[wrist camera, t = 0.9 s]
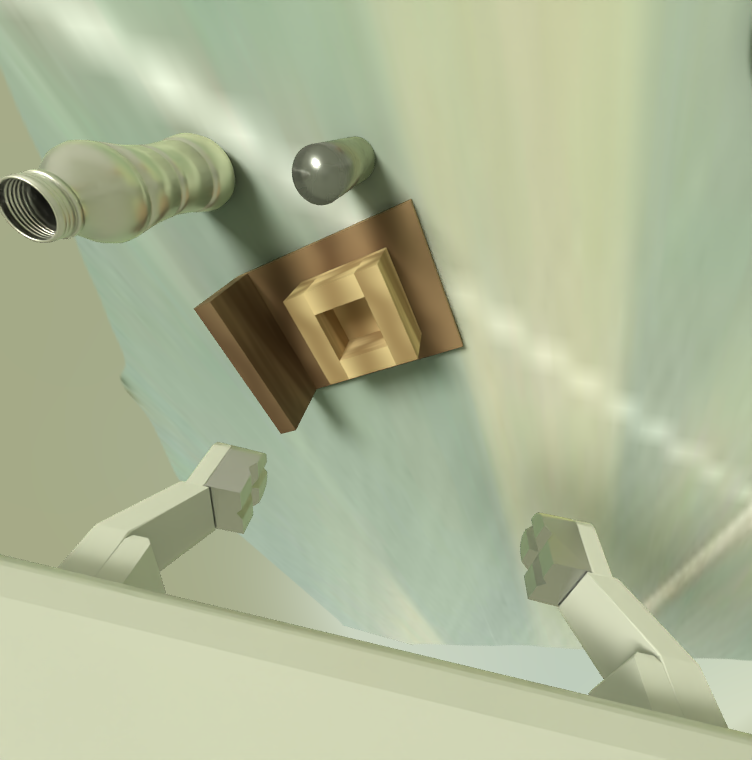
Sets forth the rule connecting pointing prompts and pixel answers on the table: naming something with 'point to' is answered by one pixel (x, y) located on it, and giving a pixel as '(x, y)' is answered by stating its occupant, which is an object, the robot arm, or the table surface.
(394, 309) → the tan square frame
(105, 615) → the robot arm
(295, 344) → the jig
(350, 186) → the dowel
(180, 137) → the plastic bottle
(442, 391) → the table surface
